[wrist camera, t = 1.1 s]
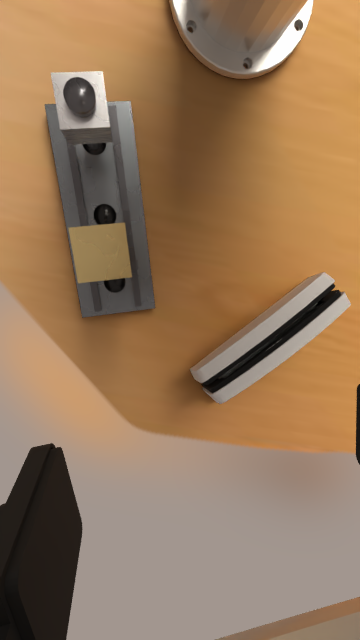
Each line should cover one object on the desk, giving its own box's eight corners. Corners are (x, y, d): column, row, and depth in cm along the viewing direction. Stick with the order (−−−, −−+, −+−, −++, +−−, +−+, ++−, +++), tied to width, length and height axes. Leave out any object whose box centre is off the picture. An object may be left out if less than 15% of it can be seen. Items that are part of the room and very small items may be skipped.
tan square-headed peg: (88, 233, 29) (68, 227, 18) (125, 229, 29) (124, 222, 19) (94, 269, 29) (78, 283, 19) (129, 265, 30) (131, 277, 20)
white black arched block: (213, 402, 37) (220, 428, 27) (187, 369, 37) (185, 382, 27) (331, 311, 36) (382, 303, 26) (304, 278, 37) (345, 258, 27)
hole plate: (48, 110, 28) (3, 34, 18) (130, 106, 28) (132, 32, 18) (83, 314, 32) (64, 347, 22) (154, 305, 33) (166, 333, 23)
